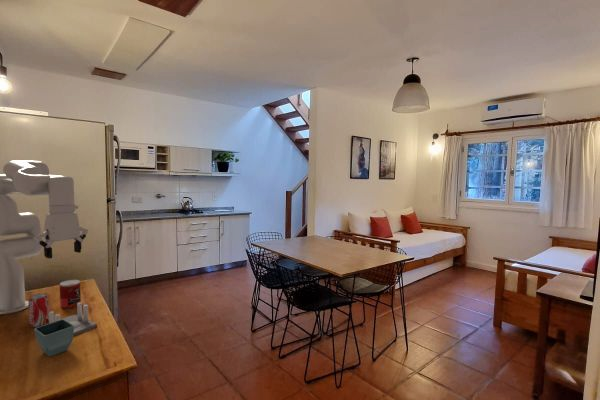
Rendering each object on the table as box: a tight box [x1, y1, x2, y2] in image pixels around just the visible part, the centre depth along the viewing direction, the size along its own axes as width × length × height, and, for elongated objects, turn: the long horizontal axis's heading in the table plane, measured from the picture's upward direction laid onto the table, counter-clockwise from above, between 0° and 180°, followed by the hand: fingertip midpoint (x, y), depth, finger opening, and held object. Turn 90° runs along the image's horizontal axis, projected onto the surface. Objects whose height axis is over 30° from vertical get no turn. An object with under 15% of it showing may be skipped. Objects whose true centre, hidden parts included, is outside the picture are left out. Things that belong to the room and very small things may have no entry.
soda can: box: [27, 293, 50, 328], centre depth 128 cm, size 6×6×12 cm
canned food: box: [59, 279, 82, 310], centre depth 146 cm, size 8×8×11 cm
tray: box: [40, 302, 98, 337], centre depth 125 cm, size 16×13×8 cm
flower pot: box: [33, 318, 74, 357], centre depth 109 cm, size 9×9×9 cm
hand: (63, 254), depth 118 cm, fingers open, 9 cm apart
